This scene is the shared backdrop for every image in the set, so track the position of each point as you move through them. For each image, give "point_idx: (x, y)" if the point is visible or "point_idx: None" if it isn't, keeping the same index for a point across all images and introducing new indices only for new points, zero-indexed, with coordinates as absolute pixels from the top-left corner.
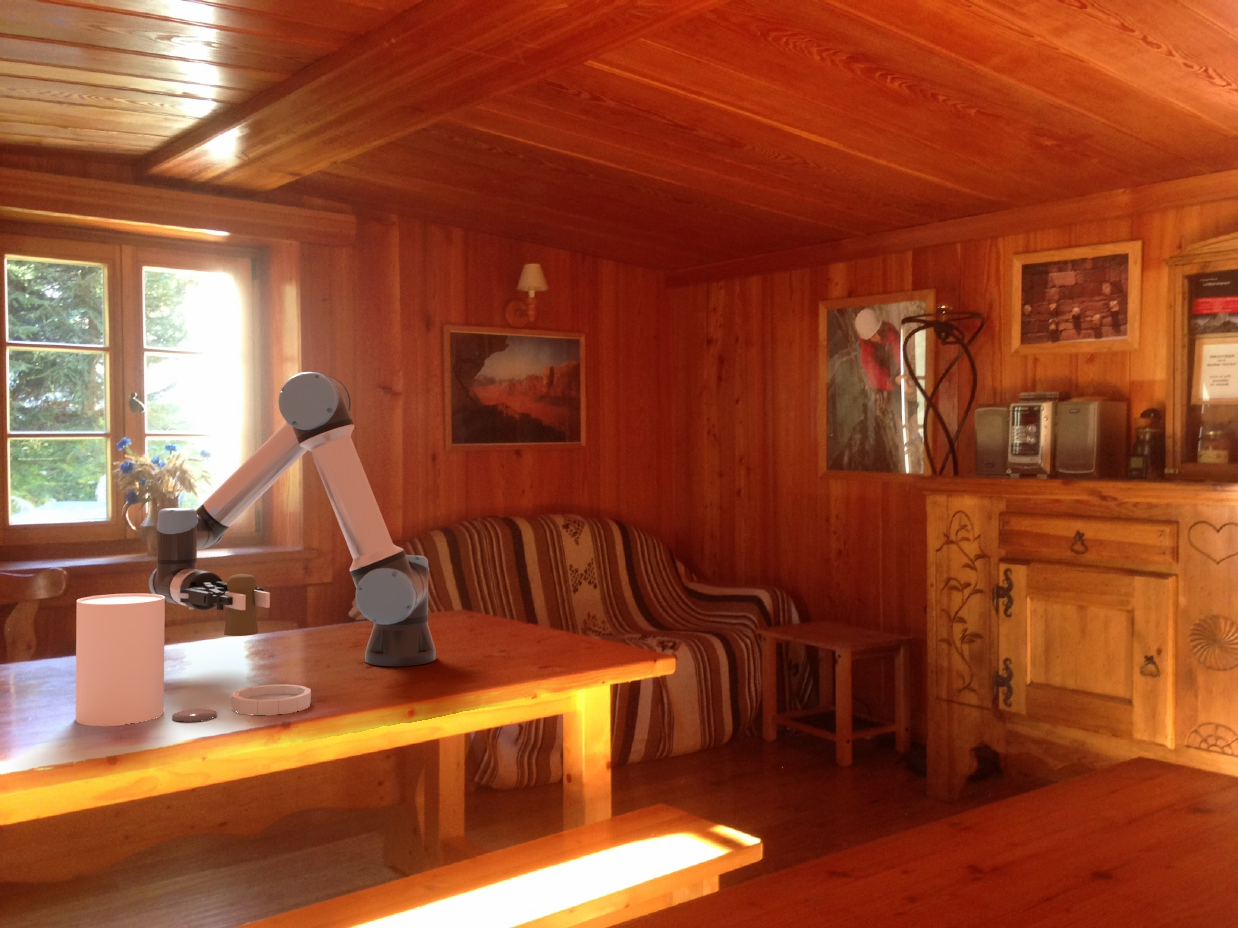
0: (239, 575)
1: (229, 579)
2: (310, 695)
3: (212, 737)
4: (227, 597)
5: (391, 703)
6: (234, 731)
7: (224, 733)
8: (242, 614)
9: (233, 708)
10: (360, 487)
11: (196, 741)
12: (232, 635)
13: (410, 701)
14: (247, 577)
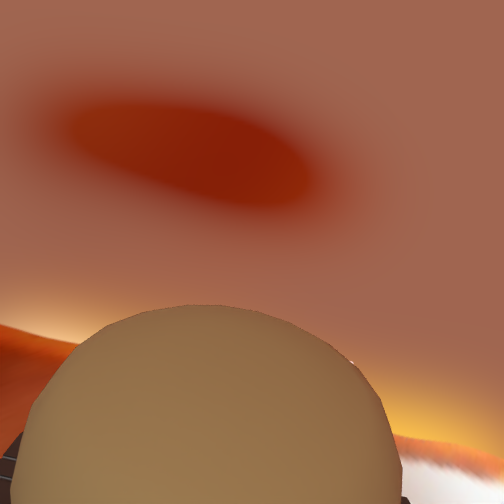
0: (294, 346)
1: (394, 451)
2: None
3: (462, 461)
4: (408, 500)
5: (50, 369)
6: (411, 460)
7: (433, 464)
8: None
9: None
10: None
11: (497, 464)
12: None
13: (18, 353)
14: (240, 311)
